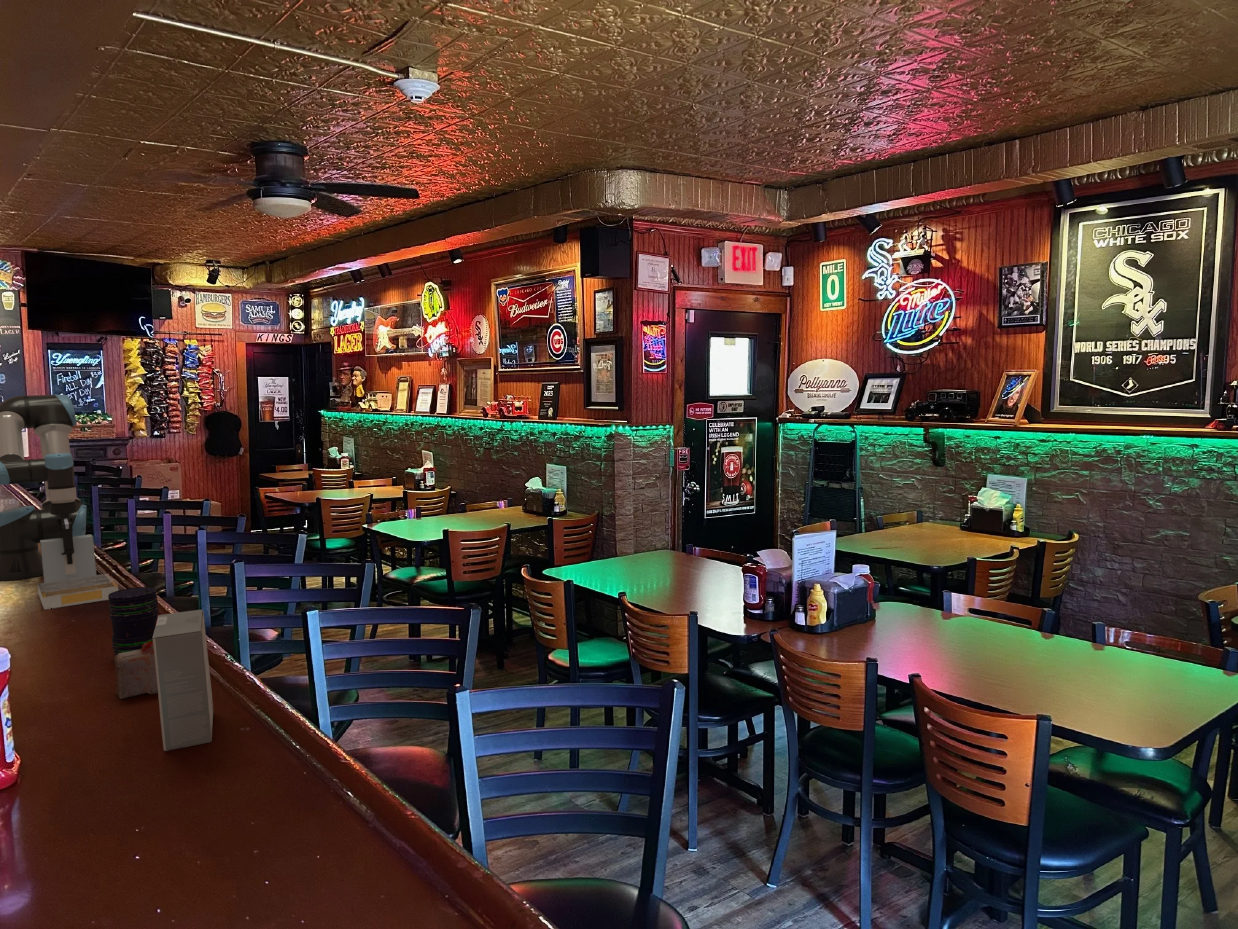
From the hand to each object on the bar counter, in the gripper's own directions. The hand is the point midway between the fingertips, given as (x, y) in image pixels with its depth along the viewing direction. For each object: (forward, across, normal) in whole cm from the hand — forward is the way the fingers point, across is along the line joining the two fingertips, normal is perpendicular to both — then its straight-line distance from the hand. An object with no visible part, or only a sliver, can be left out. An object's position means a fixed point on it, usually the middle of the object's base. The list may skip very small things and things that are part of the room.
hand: (69, 572), depth 277 cm
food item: (+3, +133, +4) cm, 133 cm away
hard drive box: (+2, +162, +4) cm, 162 cm away
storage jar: (+3, +104, +5) cm, 105 cm away
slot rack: (+3, +23, 0) cm, 24 cm away
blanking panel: (+3, 0, 0) cm, 3 cm away
